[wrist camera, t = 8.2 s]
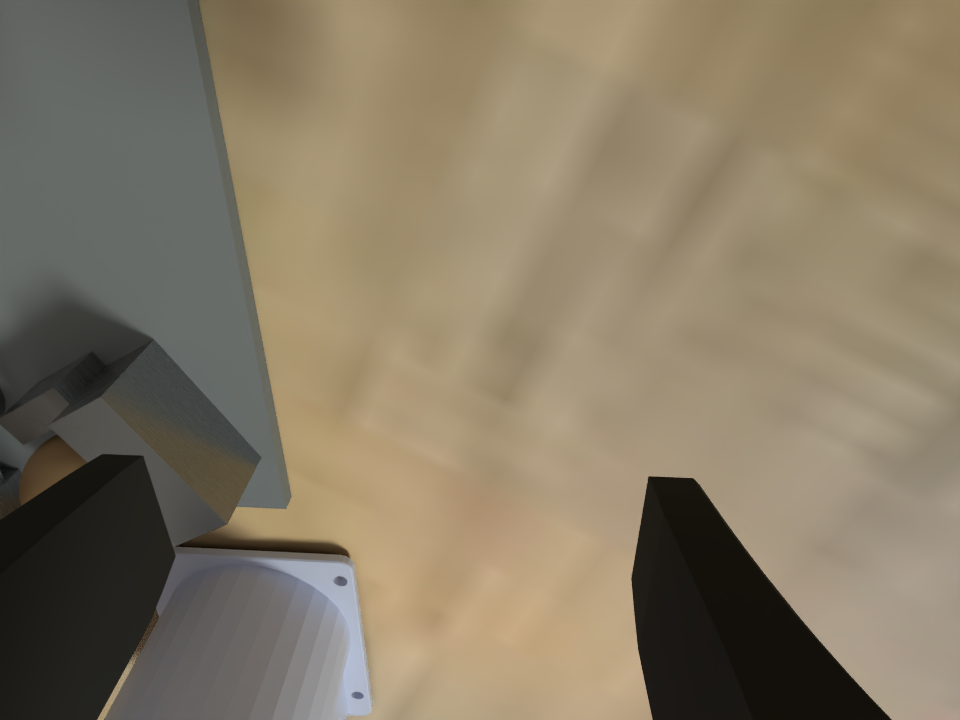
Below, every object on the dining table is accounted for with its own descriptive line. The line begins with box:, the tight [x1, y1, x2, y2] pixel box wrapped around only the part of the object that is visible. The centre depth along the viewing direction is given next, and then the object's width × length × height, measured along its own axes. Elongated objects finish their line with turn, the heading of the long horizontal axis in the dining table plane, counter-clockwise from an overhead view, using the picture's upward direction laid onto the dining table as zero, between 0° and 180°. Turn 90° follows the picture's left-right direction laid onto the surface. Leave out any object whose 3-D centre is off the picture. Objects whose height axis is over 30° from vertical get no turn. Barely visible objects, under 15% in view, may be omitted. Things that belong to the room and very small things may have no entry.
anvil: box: [0, 340, 262, 547], centre depth 21 cm, size 6×4×3 cm
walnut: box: [19, 434, 87, 506], centre depth 21 cm, size 4×4×4 cm
